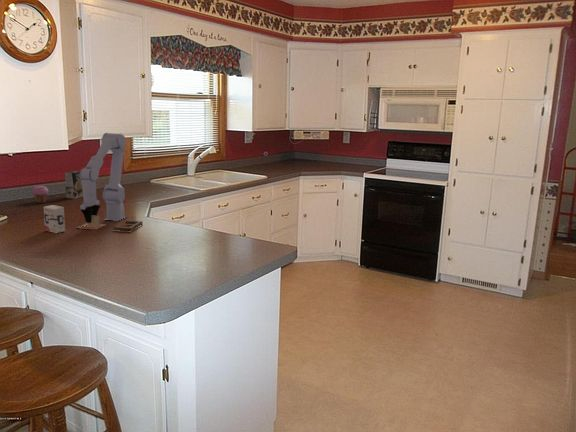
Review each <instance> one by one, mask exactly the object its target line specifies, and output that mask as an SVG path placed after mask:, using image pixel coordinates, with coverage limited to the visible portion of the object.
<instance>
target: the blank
mask: <svg viewBox="0 0 576 432" xmlns="http://www.w3.org/2000/svg"><path fill="white" fill-rule="evenodd" d="M100 224H101V223H100V215H98V214H97V215H92V219H91V223H87V227H95V228H96V227H98V226H100Z"/></svg>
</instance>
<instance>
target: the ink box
mask: <svg viewBox="0 0 576 432" xmlns="http://www.w3.org/2000/svg"><path fill="white" fill-rule="evenodd" d="M43 219H44V223H43V224H44V231H45V230H46V231H50V232H54V233H58V232H63V231H65V232H66V221H65V219H66V218H65V207H64V206H59V205H55V204H51V205H46V206H43ZM46 231H45V232H46ZM50 232H49V233H50ZM54 233H53V234H54Z"/></svg>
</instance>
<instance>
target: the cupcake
mask: <svg viewBox="0 0 576 432" xmlns="http://www.w3.org/2000/svg"><path fill="white" fill-rule="evenodd" d="M49 192H50V191H49V188H48V187H46V186H44V185H37V186H33V188H32V190H31V194H32V195H34V200H35V202H36V203H38V204H39V203H42V204H43V203H46V202H47V197H48V195H49Z"/></svg>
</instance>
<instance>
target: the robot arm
mask: <svg viewBox="0 0 576 432" xmlns="http://www.w3.org/2000/svg"><path fill="white" fill-rule="evenodd" d="M126 144H127V139H126V137H125V135H124V134H123V133H110V132H105V133H103V135H102V137H101V144H100V146H99V148H98V150H97V153H96V155H92V156H91V157H90V159H89V161H88V163H87V165H86V166H85V167H83V168H82V169H80V170H79V171H80V174H79V176H80V179H81V182H82V184H83V202H82V204H81V205H79V208H80V211H81V213H82V215H83V216H84V219H85V224H86V223H91V219H92V215H98V212H99V210H100V209H101V205H100V202H101V200H99V199H97V182H96V181H97V180H98V179H99V173H100V169H101V168H102V166H103V164H104V158H105V157H106V155H107V154H108V153H109V151H111V152H112V157H111V163H110V164H111V165H110V174H109V182H108V184H106V185H105V186H104V190H103V192H102V196H101V197H102V200H103V201H104V203H106V218H104V219H103V221H105V220H113V221H112V222H120V221H122V220H124V219H126V218H125V217H126V216H125V205H124V201H125V199H126V195H125V190H126V189H125V188H124V187H123V186H122V185H121V180H122V172H123V162H124V155H125V151H126V146H127V145H126ZM123 218H124V219H123ZM121 219H122V220H121ZM119 220H120V221H119Z"/></svg>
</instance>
